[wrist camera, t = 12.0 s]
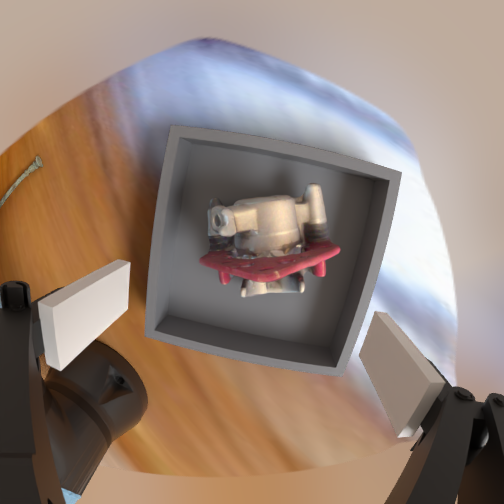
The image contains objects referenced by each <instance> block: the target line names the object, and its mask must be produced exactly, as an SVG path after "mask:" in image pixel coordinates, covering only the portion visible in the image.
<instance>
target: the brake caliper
mask: <svg viewBox="0 0 504 504" xmlns="http://www.w3.org/2000/svg"><path fill="white" fill-rule="evenodd" d="M207 214H208V238H209V242H210V249H209V252H208V254H206V255H204V256H202V257H201V258H200V259H199V263H200V264H201V265H203V266H206V267H210V268H212V269H216V270H218V274H219V280H220V283H221V284H223V285H226V284H228V283H229V282H230V280H231V279H232V277H233V276H239V277H242V278H243V281H242V285H241V288H240V295H241V297H243V298H244V297H251V296H255V295H263V294H266V293H303V292H304V290H305V282H304V277H303V276H304V274H305V272H310V273H312V274H313V275H315V276H317V277H324V276H325V275H326V264H325V260H326V259H329V258H331V257H333V256H335V255H337V254H338V253H339V252H340V247H339V246H338V245H336V244H334V243H332V242H331V240H330V238H329V227H328V223H327V218H326V213H325V206H324V201H323V195H322V190H321V186H320V185H319V184H317V183H309V184H308V185H307V186H306V189H305V192H304V194H303V195H302V196H300V197H290V196H288V195H274V196H267V197H256V198H248V199H242V200H238V201H236V202H235V203H234V205H233V206H228V207H225V206H224V205H223V204H222V203H221V201H220V199H219V198H213V199H211V200H210V204H209V209H208V212H207Z"/></svg>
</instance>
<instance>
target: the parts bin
mask: <svg viewBox="0 0 504 504" xmlns="http://www.w3.org/2000/svg"><path fill="white" fill-rule="evenodd" d="M401 175H402V172H399V171H396V170H393V169H390V168H387V167H384V166H380V165H377V164H374V163H370V162H367V161H363V160H360V159H356V158H353V157H349V156H345V155H342V154H338V153H334V152H330V151H326V150H322V149H317V148H313V147H309V146H304V145H300V144H295V143H290V142H285V141H280V140H275V139H270V138H265V137H259V136H253V135H247V134H241V133H235V132H228V131H221V130H214V129H206V128H197V127H188V126H178V125H171V127H170V131H169V136H168V141H167V146H166V151H165V156H164V162H163V167H162V173H161V179H160V185H159V191H158V197H157V204H156V211H155V218H154V226H153V234H152V242H151V252H150V261H149V272H148V284H147V298H146V316H145V337H149V338H152V339H155V340H159V341H162V342H166V343H169V344H173V345H177V346H180V347H184V348H188V349H192V350H196V351H200V352H204V353H208V354H212V355H217V356H221V357H225V358H230V359H235V360H239V361H244V362H249V363H254V364H259V365H265V366H270V367H276V368H282V369H288V370H294V371H301V372H307V373H315V374H322V375H330V376H339V377H342V376H343V373H344V371H345V369H346V366H347V364H348V361H349V359H350V356H351V354H352V351H353V348H354V346H355V343H356V340H357V338H358V335H359V332H360V330H361V327H362V324H363V321H364V318H365V315H366V312H367V309H368V306H369V303H370V300H371V297H372V294H373V291H374V287H375V284H376V281H377V277H378V274H379V270H380V267H381V263H382V260H383V256H384V252H385V248H386V245H387V241H388V237H389V232H390V228H391V224H392V220H393V215H394V211H395V206H396V201H397V196H398V191H399V186H400V180H401ZM309 183H317V184H319V185H320V186H321V190H322V195H323V201H324V206H325V213H326V218H327V223H328V227H329V238H330V240H331V242H332V243H334V244H336V245H338V246H339V247H340V252H339V253H338V254H337V255H335V256H333V257H331V258H329V259H326V260H325V264H326V275H325V276H324V277H317V276H315V275H313V274H312V273H310V272H305V274H304V276H303V277H304V282H305V290H304V292H303V293H266V294H263V295H255V296H251V297H244V298H243V297H241V295H240V288H241V285H242V281H243V278H242V277H239V276H233V277H232V279H231V280H230V282H229V283H228V284H226V285H223V284H221V283H220V280H219V274H218V270H216V269H212V268H210V267H206V266H203V265H201V264H200V263H199V259H200V258H201V257H202V256H204V255H206V254H208V252H209V249H210V242H209V238H208V214H207V212H208V209H209V204H210V200H211V199H213V198H219V199H220V201H221V203H222V204H223V205H224V206H225V207H228V206H233V205H234V203H235V202H236V201H238V200H242V199H248V198H256V197H267V196H274V195H288V196H290V197H300V196H302V195H303V194H304V192H305V189H306V186H307V185H308V184H309Z"/></svg>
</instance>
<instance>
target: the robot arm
mask: <svg viewBox="0 0 504 504" xmlns="http://www.w3.org/2000/svg"><path fill="white" fill-rule="evenodd" d="M130 263H131V262H128V261H124V260H120V259H118V260H116V261H114V262H112V263H110V264H108V265H106V266H104V267H102V268H100V269H98V270H96V271H94V272H92V273H90V274H88V275H86V276H84V277H83V278H81V279H79V280H77V281H75V282H73V283H71V284H69V285H67V286H66V287H61V288H57V289H56V290H54V291H52V292H51V293H48V294H46V295H45V296H43V297H41V298H39V299H37V300H35V301H33V302H32V303H31V298H30V287H29V285H28V284H27V283H26V282H23V281H9V282H5V283H3V284H2V285H1V286H0V504H75V503H76V502H77V500H78V499H80V498H81V495H82V493H83V491H84V490H85V488H86V486H87V485H88V483H89V481H90V479H91V477H92V476H93V474H94V472H95V470H96V469H97V467H98V465H99V463H100V462H101V460H102V458H103V456H104V455H105V453H106V451H107V449H108V448H109V446H110V445H111V443H112V442H113V441H114V440H116V439H117V438H118V437H120V436H121V435H123V434H124V433H126V432H127V431H128V430H130V429H131V428H133V427H134V426H135V425H137V424H138V422H139V421H140V420H141V418H142V416H143V415H144V413H145V411H146V409H147V404H148V398H147V393H146V390H145V387H144V385H143V382H142V381H141V379H140V377H139V376H138V374H137V373H136V371H135V370H134V369H133V368H132V366H131V365H130V364H129V363H128V362H127V361H126V360H125V359H124V358H123V357H122V356H120V355H119V354H118V353H117V352H115V351H114V350H113V349H111V348H109V347H108V346H106V345H104V344H102V343H100V342H98V341H95V339H96V338H97V337H98V336H99V335H100V334H101V333H102V332H103V331H104V330H105V329H106V328H108V327H109V326H110V325H111V324H112V323H113V322H114V321H115V320H116V319H118V318H119V317H120V316H121V315H122V314H123V313H124V312H125V311H126V310H128V294H129V277H130ZM44 352H45V358H46V363H47V365H49V366H51V367H50V369H49V371H48V373H47V375H46V378H45V380H43V378H42V376H41V367H40V360H39V356H40V355H41V354H43V353H44ZM359 357H360V359H361V361H362V363H363V365H364V367H365V369H366V371H367V373H368V375H369V377H370V379H371V381H372V383H373V385H374V387H375V389H376V391H377V394H378V396H379V398H380V400H381V402H382V404H383V406H384V408H385V411H386V413H387V415H388V417H389V419H390V421H391V424H392V426H393V428H394V430H395V432H396V435H397V437H410V436H413V435H414V434H415V432H416V431H417V429H418V428H419V426H420V425H421V427H422V429H423V431H424V432H423V433H422V435H421V436H420V437H419V439H418V440H417V442H416V443H415V444H414V446H413V447H412V448H411V450H410V451H413V452H412V454H411V456H410V458H409V460H408V462H407V464H406V466H405V468H404V470H403V472H402V474H401V476H400V478H399V479H398V481H397V483H396V485H395V487H394V488H393V490H392V492H391V493H390V495H389V497H388V498H387V500H386V502H385V503H384V504H455V501H456V498H457V494H458V504H504V396H503V395H501V394H496V393H491V394H489V396H488V397H487V399H486V400H485V402H484V403H483V402H476V401H475V397H474V396H473V394H472V393H471V392H469V391H468V390H466V389H464V388H461V387H452V386H451V385H450V384H449V382H448V381H447V380H446V379H445V377H444V376H443V375H442V374H441V373H440V371H439V370H438V369H437V368H436V366H435V365H434V364H433V363H432V362H431V361H430V360H428V359H427V358H426V357H425V356H424V355H423V354H422V353H421V352H420V351H419V349H418V348H417V347H416V346H415V345H414V343H413V342H412V341H411V340H410V339H409V338H408V336H407V335H406V334H405V333H404V332H403V331H402V329H401V328H400V327H399V326H398V325H397V324H396V323H395V321H394V320H393V319H392V318H391V317H390V316H389V315H388V314H387V313H384V312H377V311H375V312H374V315H373V318H372V321H371V324H370V327H369V329H368V332H367V335H366V338H365V340H364V343H363V346H362V348H361V351H360V353H359ZM486 442H487V443H486ZM485 444H486V445H485Z"/></svg>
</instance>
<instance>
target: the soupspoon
mask: <svg viewBox="0 0 504 504" xmlns="http://www.w3.org/2000/svg"><path fill="white" fill-rule="evenodd" d="M39 166H40V167H43V164H42V160H41V158H40V157H39V156H37V157H36V161H34V162H33V164H32V165H31V166H30V167H29V168H28V170H25V172H24V173H23V174H22V175H21V176H20V177H19V178H18V180H17V181H16V182H15V183H14V184H13V185H12V186H11V188H10V189H9V190H8V191H7V193H6V194H5V195H4V197H3V198H2V199H1V201H0V208H1V206H2V205H3V203H4V202H5V201H6V199H7V198H8V197H9V196H10V194H11V193H12V192H13V190H14V189H15V188H16V187H17V186H18V185H19V183H20V182H21V181H22V180H23V179H24V178H25V177H26V176H29V173H31V172H33V171H34V170H35V169H38V168H39Z"/></svg>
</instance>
